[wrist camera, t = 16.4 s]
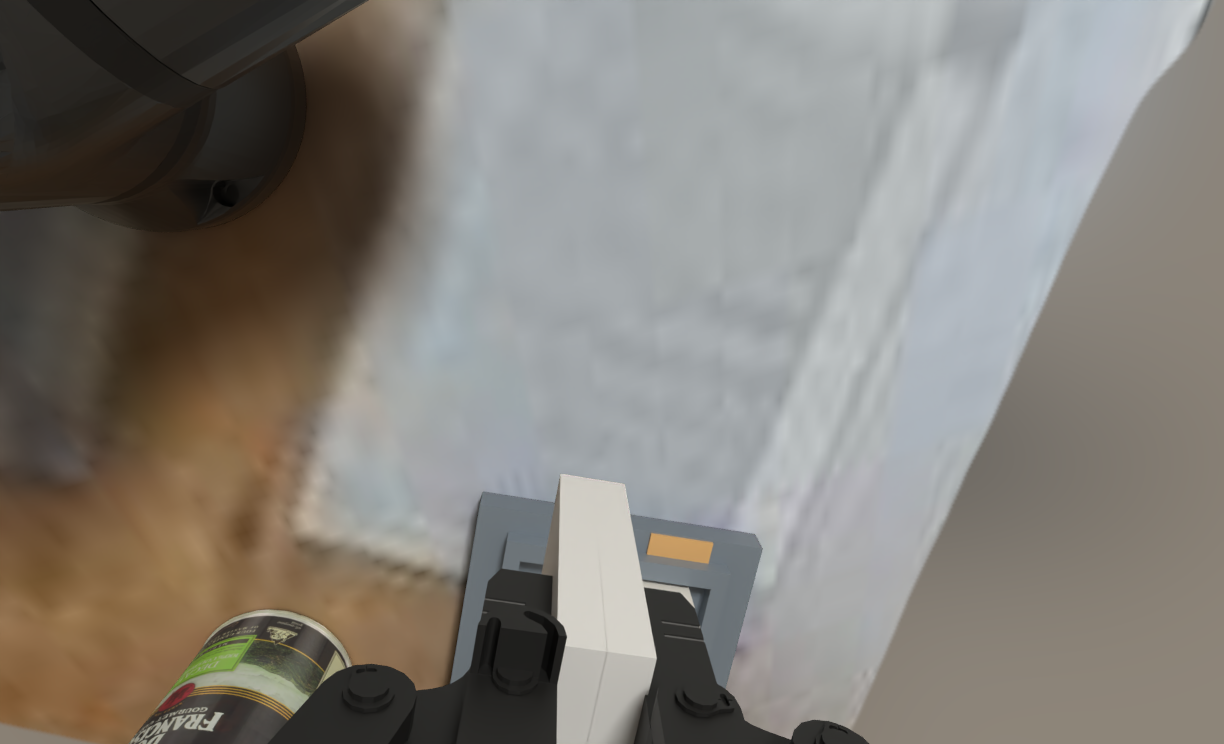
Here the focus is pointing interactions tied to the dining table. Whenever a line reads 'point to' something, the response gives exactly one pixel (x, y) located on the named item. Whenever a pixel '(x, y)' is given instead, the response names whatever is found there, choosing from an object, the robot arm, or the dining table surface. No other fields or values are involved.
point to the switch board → (665, 552)
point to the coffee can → (246, 681)
